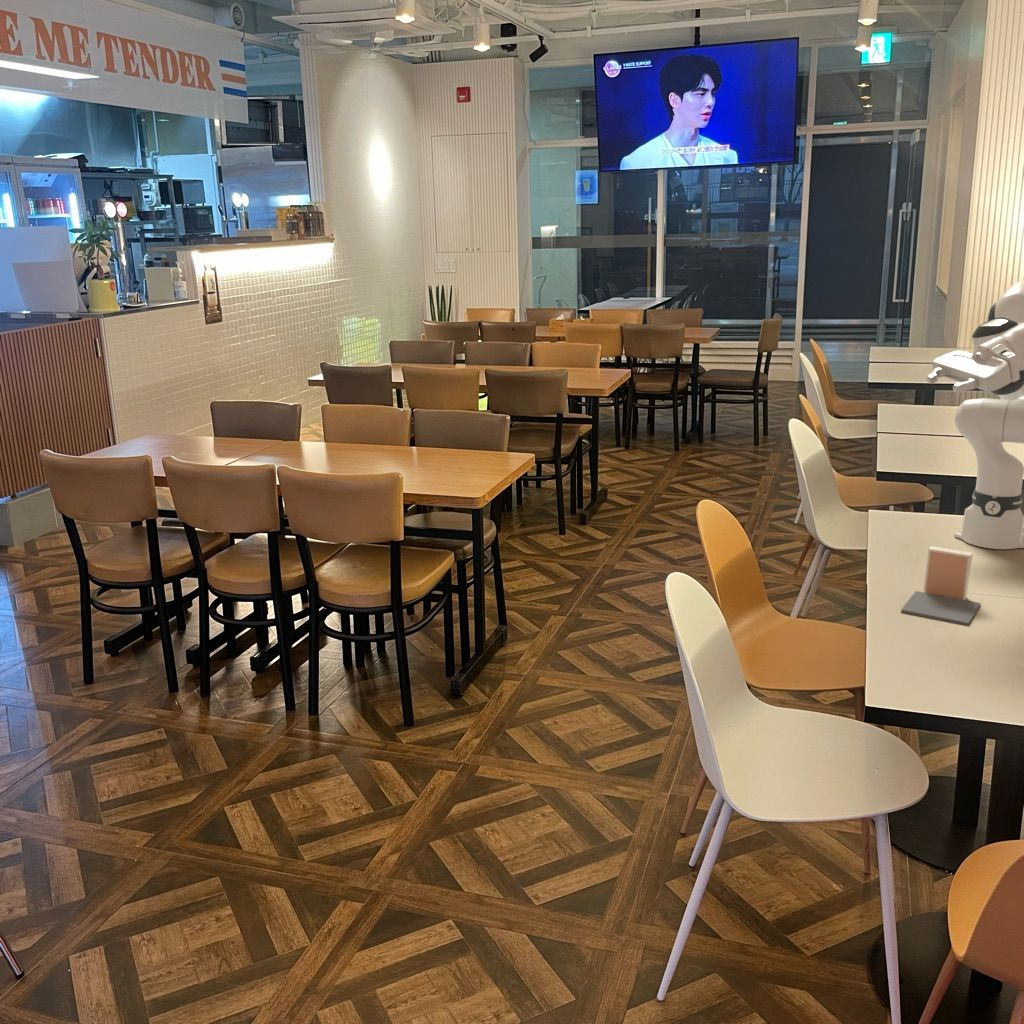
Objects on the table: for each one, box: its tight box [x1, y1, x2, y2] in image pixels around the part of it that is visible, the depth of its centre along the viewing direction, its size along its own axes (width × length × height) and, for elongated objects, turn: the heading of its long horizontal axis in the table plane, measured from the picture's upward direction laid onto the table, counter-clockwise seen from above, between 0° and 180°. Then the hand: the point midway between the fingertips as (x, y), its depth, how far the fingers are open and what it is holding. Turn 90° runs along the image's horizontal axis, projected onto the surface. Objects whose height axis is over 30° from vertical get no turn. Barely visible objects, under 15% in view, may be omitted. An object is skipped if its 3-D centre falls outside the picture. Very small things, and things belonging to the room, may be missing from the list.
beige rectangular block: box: [923, 545, 973, 600], centre depth 230 cm, size 3×9×11 cm, turn 56°
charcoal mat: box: [900, 590, 981, 626], centre depth 223 cm, size 14×14×1 cm
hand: (941, 384), depth 231 cm, fingers open, 8 cm apart
